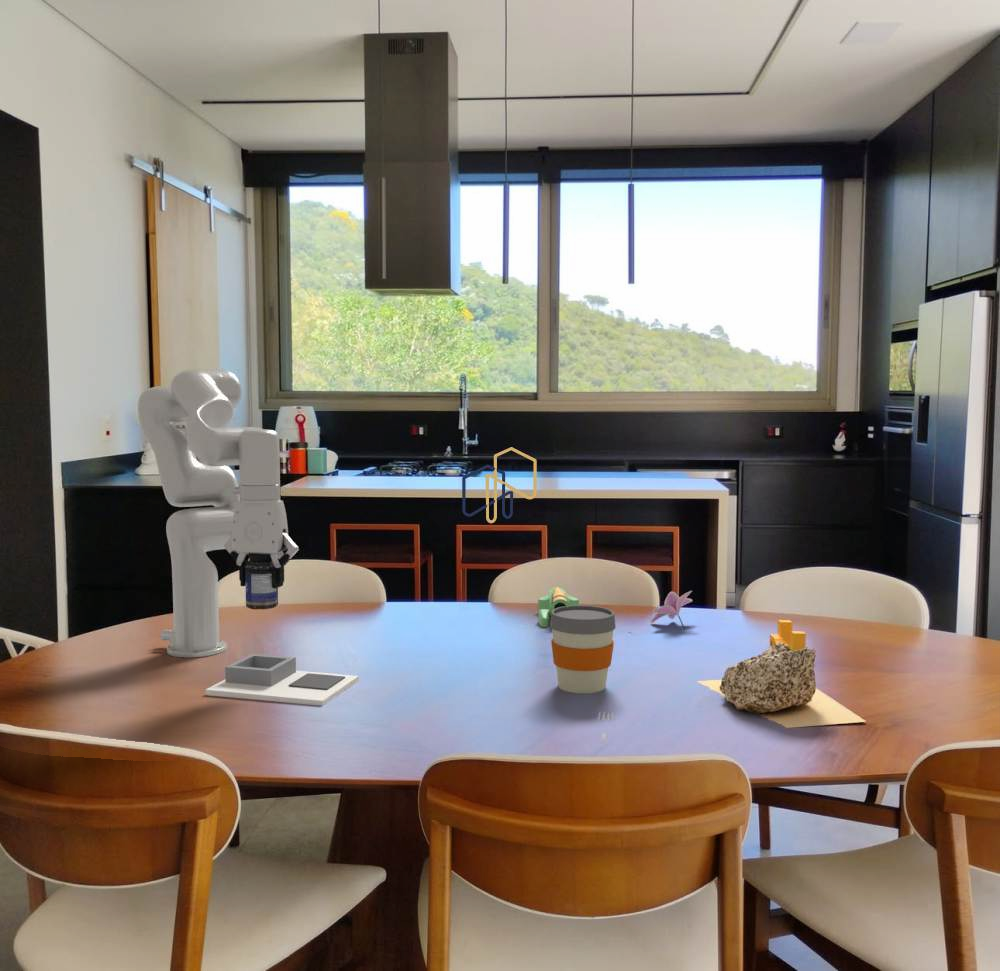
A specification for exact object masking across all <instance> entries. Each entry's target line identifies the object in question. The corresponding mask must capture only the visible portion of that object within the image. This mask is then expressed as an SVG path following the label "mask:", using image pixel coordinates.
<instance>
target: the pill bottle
mask: <svg viewBox="0 0 1000 971" xmlns="http://www.w3.org/2000/svg"><path fill="white" fill-rule="evenodd" d="M249 558H250V560H249V563H248V564H247V565H246V566H245V584H246V586H245V606H246V608H247V609H250V610H271V609H273V608H274V609H275V608H276V607H278V604H279V587H278V588H272V568H274V563H273V561H272V558H271V556H270V554H254V553H249Z"/></svg>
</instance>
